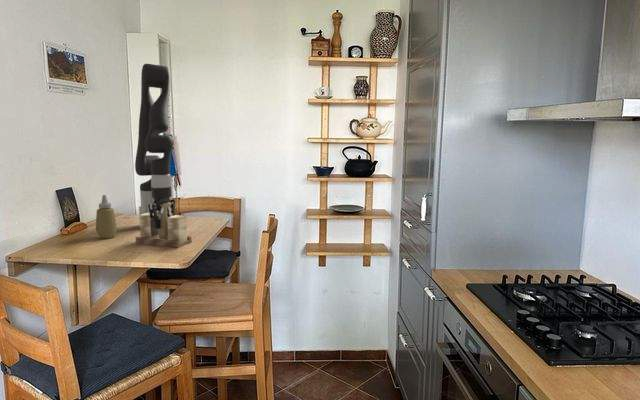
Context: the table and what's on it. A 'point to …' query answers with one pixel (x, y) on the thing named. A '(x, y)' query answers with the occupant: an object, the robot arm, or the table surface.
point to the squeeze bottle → (105, 220)
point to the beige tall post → (164, 222)
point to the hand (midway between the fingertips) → (163, 226)
